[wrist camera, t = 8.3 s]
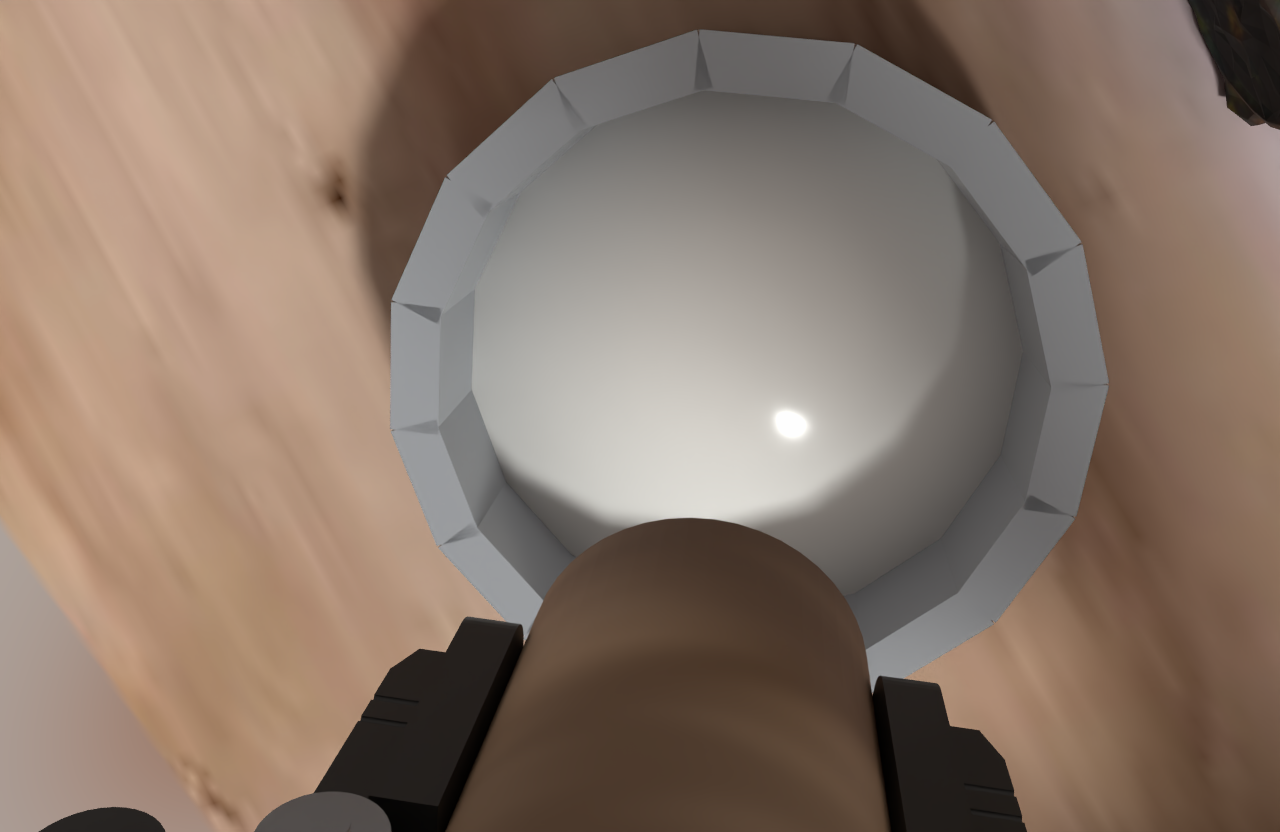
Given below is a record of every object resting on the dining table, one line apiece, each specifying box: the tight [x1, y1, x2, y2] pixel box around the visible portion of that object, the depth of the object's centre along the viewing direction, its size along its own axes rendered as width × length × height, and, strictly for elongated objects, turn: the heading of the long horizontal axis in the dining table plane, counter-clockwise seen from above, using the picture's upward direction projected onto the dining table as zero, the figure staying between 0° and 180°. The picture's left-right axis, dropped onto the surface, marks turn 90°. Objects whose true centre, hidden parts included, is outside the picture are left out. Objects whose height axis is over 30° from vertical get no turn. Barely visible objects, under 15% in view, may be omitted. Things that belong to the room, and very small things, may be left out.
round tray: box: [390, 29, 1109, 692], centre depth 27 cm, size 16×16×4 cm
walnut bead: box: [445, 518, 892, 832], centre depth 12 cm, size 5×5×6 cm
